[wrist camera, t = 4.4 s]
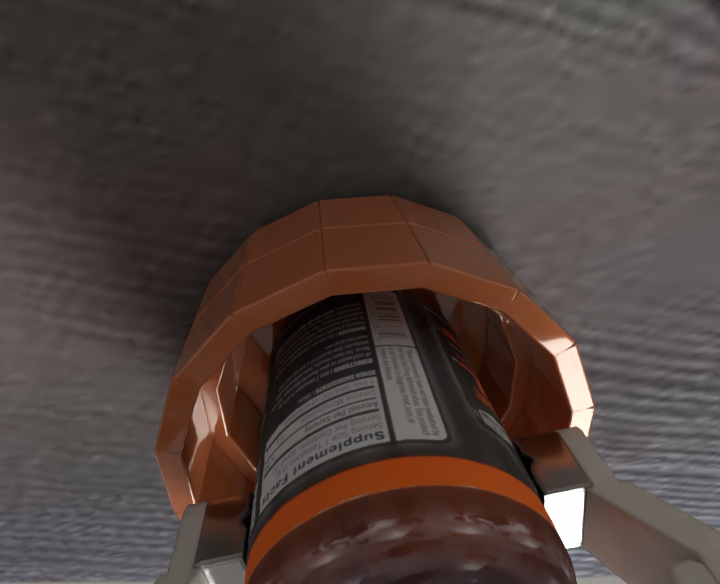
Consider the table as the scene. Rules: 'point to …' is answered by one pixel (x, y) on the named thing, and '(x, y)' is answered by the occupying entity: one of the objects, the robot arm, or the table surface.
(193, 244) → the table surface
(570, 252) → the table surface
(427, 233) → the bowl
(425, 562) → the supplement bottle
